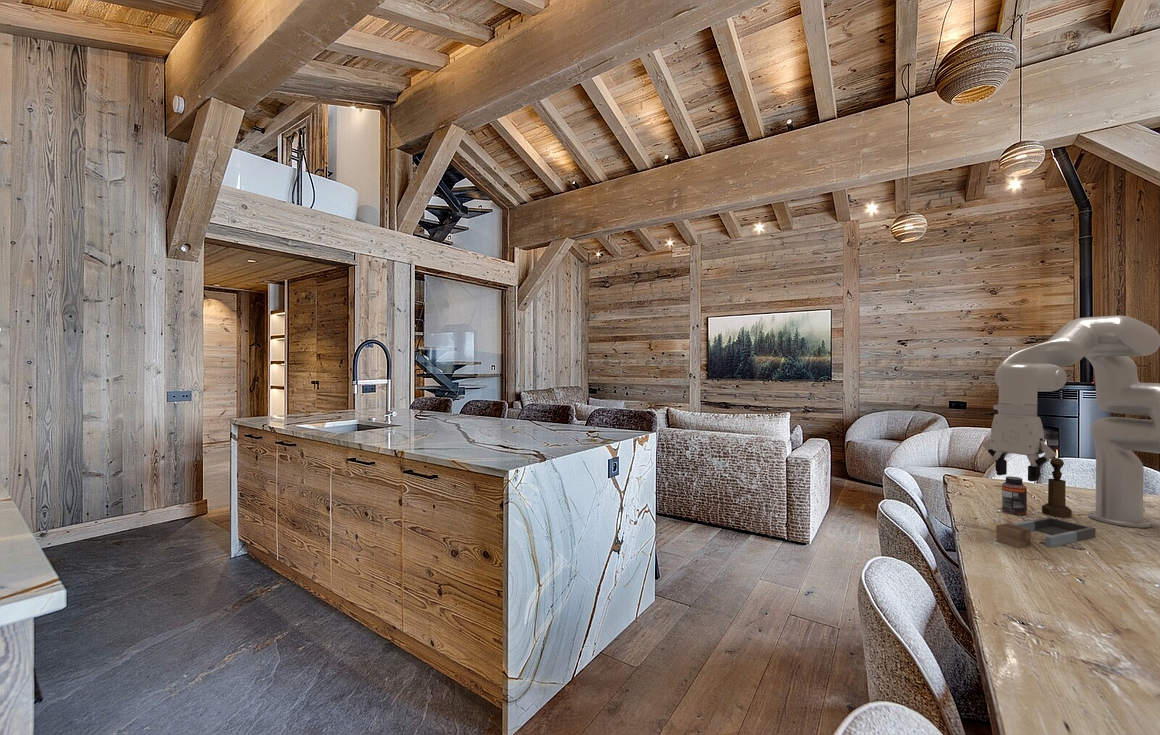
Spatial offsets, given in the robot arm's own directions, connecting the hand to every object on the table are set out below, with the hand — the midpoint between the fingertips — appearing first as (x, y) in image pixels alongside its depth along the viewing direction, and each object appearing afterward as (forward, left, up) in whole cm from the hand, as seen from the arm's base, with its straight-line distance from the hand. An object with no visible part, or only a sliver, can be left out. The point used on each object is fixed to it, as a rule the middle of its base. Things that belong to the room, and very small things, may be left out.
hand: (1016, 477), depth 125 cm
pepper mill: (-41, -10, -18) cm, 45 cm away
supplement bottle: (-31, -16, -18) cm, 39 cm away
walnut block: (+1, 0, -18) cm, 18 cm away
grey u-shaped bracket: (-15, 0, -18) cm, 23 cm away
